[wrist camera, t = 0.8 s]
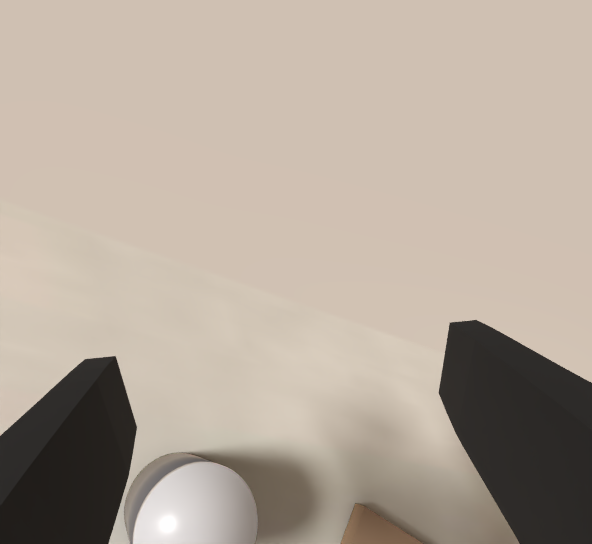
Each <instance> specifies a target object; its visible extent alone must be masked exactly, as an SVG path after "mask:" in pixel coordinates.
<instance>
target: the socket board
mask: <svg viewBox="0 0 592 544" xmlns="http://www.w3.org/2000/svg"><path fill="white" fill-rule="evenodd" d="M341 544H423V543H422V542H420V541H419V540H417V539H415V538H414V537H412V536H411V535H409V534H408V533H406V532H404V531H403V530H401V529H400V528H398V527H397V526H395V525H393V524H392V523H390V522H389V521H387V520H385V519H384V518H382V517H381V516H379V515H378V514H376V513H374V512H373V511H371V510H370V509H368V508H367V507H365V506H362V505H359V504H356V503H355V506H354V509H353V511H352V514H351V517H350V520H349V522H348V525H347V528H346V530H345V533H344V536H343V539H342V541H341Z"/></svg>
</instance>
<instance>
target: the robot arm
mask: <svg viewBox="0 0 592 544" xmlns="http://www.w3.org/2000/svg"><path fill="white" fill-rule="evenodd" d="M439 395H440V397H441V399H442V402H443V404H444V407H445V409H446V412H447V414H448V416H449V419H450V421H451V423H452V425H453V428H454V430H455V432H456V434H457V436H458V438H459V440H460V442H461V443H462V445H463V447H464V449H465V450H466V452H467V454H468V456H469V457H470V459H471V461H472V462H473V464H474V466H475V468H476V469H477V471H478V473H479V474H480V476H481V478H482V480H483V481H484V483H485V485H486V486H487V488H488V490H489V491H490V493H491V495H492V497H493V498H494V500H495V502H496V503H497V505H498V507H499V508H500V510H501V512H502V514H503V515H504V517H505V519H506V520H507V522H508V524H509V525H510V527H511V529H512V531H513V532H514V534H515V536H516V537H517V539H518V541H519V543H520V544H592V383H591V382H589V381H587V380H585V379H583V378H581V377H580V376H578V375H576V374H574V373H572V372H570V371H569V370H567V369H565V368H563V367H561V366H560V365H558V364H556V363H554V362H552V361H551V360H549V359H547V358H545V357H543V356H542V355H540V354H538V353H536V352H535V351H533V350H531V349H529V348H527V347H525V346H524V345H522V344H520V343H518V342H517V341H515V340H513V339H512V338H510V337H508V336H506V335H504V334H502V333H501V332H499V331H497V330H495V329H493V328H491V327H489V326H487V325H485V324H483V323H481V322H479V321H477V320H472V321H462V322H452V323H450V325H449V332H448V338H447V345H446V351H445V357H444V363H443V369H442V376H441V382H440V388H439ZM136 430H137V426H136V423H135V420H134V416H133V413H132V410H131V406H130V403H129V400H128V396H127V393H126V389H125V386H124V383H123V379H122V376H121V373H120V369H119V366H118V363H117V359H116V356H113V357H103V358H93V359H85V360H84V361H83V362H81V363H80V364H79V365H78V366H77V367H76V368H74V369H73V370H72V371H71V372H70V373H69V374H68V375H67V376H65V377H64V378H63V379H62V380H61V381H60V382H59V383H58V384H57V385H56V386H55V387H54V388H52V389H51V390H50V391H49V392H48V393H47V394H46V395H45V396H44V397H43V398H42V399H41V400H39V401H38V402H37V403H36V404H35V405H34V406H33V407H32V408H31V409H30V410H28V411H27V412H26V413H25V414H24V415H23V416H22V417H21V418H20V419H19V420H17V421H16V422H15V423H14V424H13V425H12V426H11V427H10V428H9V429H8V430H6V431H5V432H4V433H3V434H2V435H1V436H0V544H108V543H109V539H110V536H111V533H112V530H113V526H114V523H115V520H116V517H117V513H118V510H119V506H120V503H121V500H122V496H123V493H124V490H125V486H126V483H127V479H128V476H129V471H130V465H131V460H132V454H133V448H134V442H135V436H136Z"/></svg>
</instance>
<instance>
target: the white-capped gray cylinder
mask: <svg viewBox="0 0 592 544" xmlns="http://www.w3.org/2000/svg"><path fill="white" fill-rule="evenodd" d="M124 520H125V525H126V530H127V533H128V537H129V541H130V544H255V542H256V537H257V530H258V514H257V507H256V503H255V500H254V497H253V494H252V492H251V490H250V488H249V487H248V485H247V484H246V482H245V481H244V480H243V479H242V478H241V477H240V476H239V475H238V474H237V473H236V472H234V471H233V470H232V469H230V468H228V467H226V466H223V465H220V464H217V463H214V462H212V461H209V460H206V459H203V458H200V457H198V456H195V455H192V454H188V453H171V454H167V455H164V456H161V457H159V458H157V459H155V460H154V461H152V462H151V463H149V464H148V465H147V466H146V467H145V468H144V469H143V470H142V471H141V472H140V473H139V474H138V475H137V477H136V478H135V480H134V481H133V483H132V485H131V487H130V489H129V491H128V494H127V497H126V501H125V507H124Z"/></svg>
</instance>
